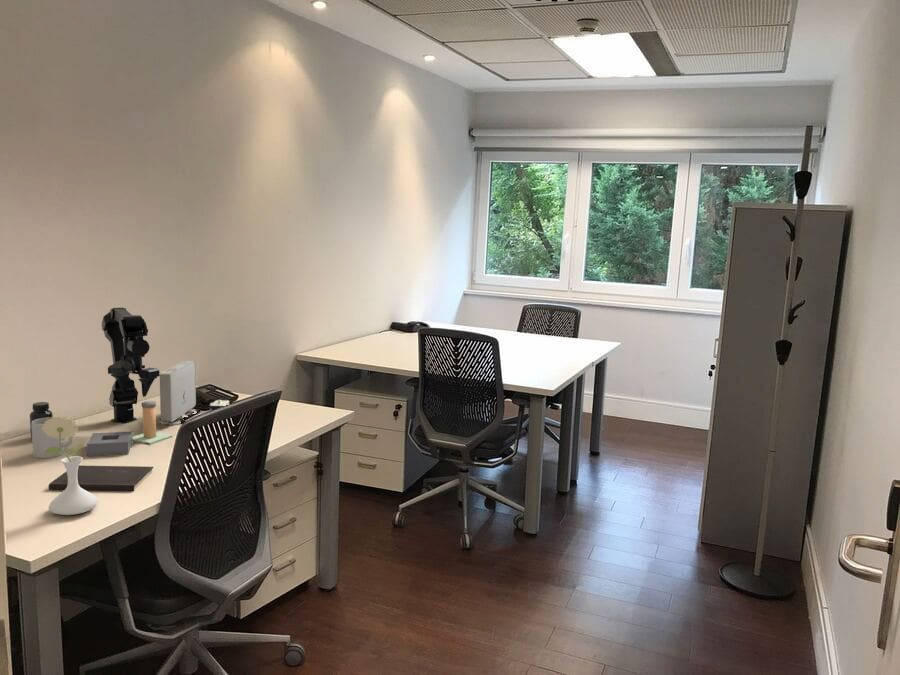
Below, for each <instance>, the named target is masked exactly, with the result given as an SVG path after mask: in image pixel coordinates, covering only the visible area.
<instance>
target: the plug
mask: <svg viewBox="0 0 900 675" xmlns="http://www.w3.org/2000/svg"><path fill="white" fill-rule="evenodd" d="M140 404H141V407H142V424H143V425H142V426H143V430H142V431H143V433H144V438H147V439H150V438H155V437H156V432H157V421H156V420H157V419H156V407H157V402H156V401H154V400H149V401H148V400H147V401H143V402H141V403H140Z"/></svg>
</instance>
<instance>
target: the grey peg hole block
mask: <svg viewBox="0 0 900 675" xmlns="http://www.w3.org/2000/svg"><path fill="white" fill-rule="evenodd" d="M133 437H134V436H133V431H116V432H115V431H111V432H93V433H92V434H91V436H90V438H89V439H88V441H87V443H86V456H87V457H94V456H95V457H98V456H112V455H114V454H118V455H128V454H127V453H130V451H131V449H132V447H133V444H132V443H133V442H134V441H133ZM130 448H131V449H130ZM114 456H115V455H114Z"/></svg>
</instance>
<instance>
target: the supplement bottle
mask: <svg viewBox="0 0 900 675" xmlns="http://www.w3.org/2000/svg"><path fill="white" fill-rule="evenodd" d="M53 413H54V412H52V410H50V403H49V402H47V401H39V402H34V403H32V411H31V412H30V414H29V432H30V433H29V434H30V439H31V440H32V421H33V420H36V419H39V418H46V417H54V414H53Z"/></svg>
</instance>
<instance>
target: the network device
mask: <svg viewBox="0 0 900 675" xmlns="http://www.w3.org/2000/svg"><path fill="white" fill-rule="evenodd" d="M196 376H197V375H196V361H195V360H183V361H181V362H179V363H177V364H175V365H174V366H171V367H169V368H167V369H165V370H164V371H162V372H160V376H159V400H160V401H159V403H160V404H159V405H160V408H159V409H160V420H159V424H160V423H161V424H160V425H164V424H169V425H168V426H170V425H171V426H180V425H181V424H180V423H181V421H178V422H177V421H176V420H184V419H183V418H184V417H188V415H186V414H187V413H191V414H196V413H197V411H196V410H194V409H193V408H194V407H195V406H196V405H197V404H196V403H197V391H196V390H197V385H196V383H197V382H196V379H197V378H196ZM191 409H193V410H191ZM192 412H194V413H192ZM197 414H198V413H197ZM197 414H196V415H197ZM174 421H176V422H174Z"/></svg>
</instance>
